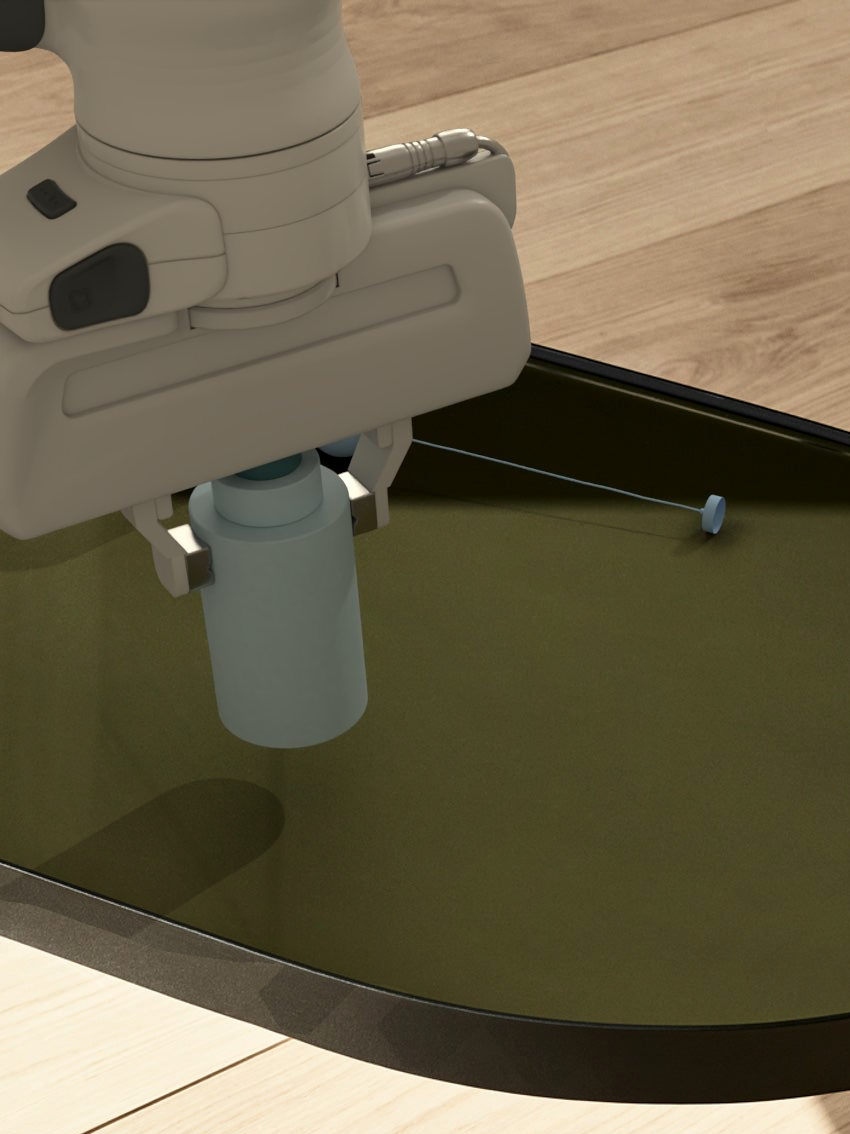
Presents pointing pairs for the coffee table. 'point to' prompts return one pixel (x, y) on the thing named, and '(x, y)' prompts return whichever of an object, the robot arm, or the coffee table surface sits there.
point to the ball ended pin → (711, 512)
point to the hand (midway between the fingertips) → (274, 554)
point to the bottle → (282, 602)
